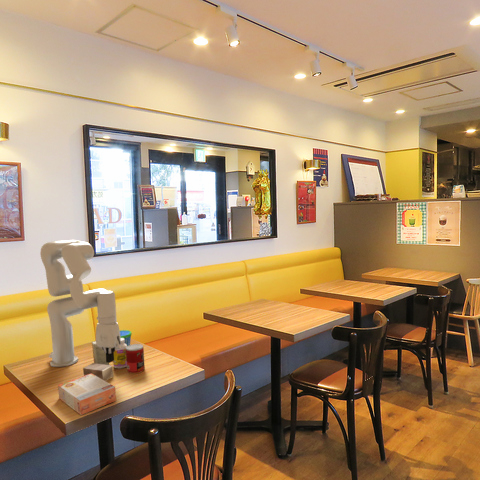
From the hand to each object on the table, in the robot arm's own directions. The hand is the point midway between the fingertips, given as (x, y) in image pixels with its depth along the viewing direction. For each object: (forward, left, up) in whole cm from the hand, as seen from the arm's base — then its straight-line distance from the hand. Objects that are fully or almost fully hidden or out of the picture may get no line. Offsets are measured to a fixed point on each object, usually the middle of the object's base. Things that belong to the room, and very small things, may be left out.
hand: (110, 361), depth 173 cm
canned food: (+4, +12, -8) cm, 15 cm away
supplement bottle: (-6, +14, -8) cm, 17 cm away
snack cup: (-18, +30, -8) cm, 36 cm away
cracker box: (-6, -14, -5) cm, 16 cm away
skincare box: (-15, +11, -8) cm, 20 cm away
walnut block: (-1, 0, -6) cm, 6 cm away
